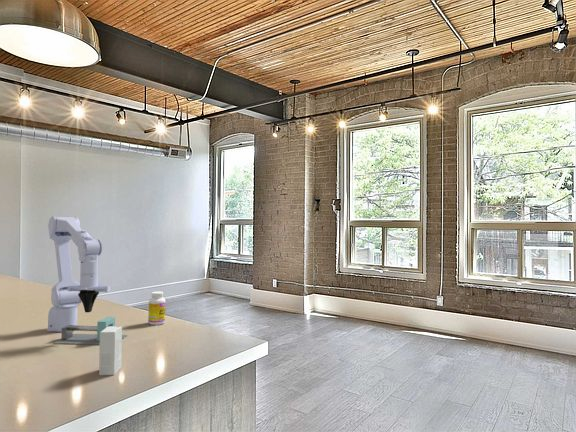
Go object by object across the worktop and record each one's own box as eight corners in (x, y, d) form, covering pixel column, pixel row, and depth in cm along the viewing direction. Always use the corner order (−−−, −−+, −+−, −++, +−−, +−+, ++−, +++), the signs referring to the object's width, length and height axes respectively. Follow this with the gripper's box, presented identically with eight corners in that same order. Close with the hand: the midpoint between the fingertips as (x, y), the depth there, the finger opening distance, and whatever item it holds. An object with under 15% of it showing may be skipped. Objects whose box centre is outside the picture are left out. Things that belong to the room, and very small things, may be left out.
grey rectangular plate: (53, 343, 134) (53, 342, 134) (72, 334, 145) (72, 333, 145) (112, 345, 133) (112, 344, 133) (127, 335, 144) (127, 335, 144)
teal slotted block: (96, 341, 135) (97, 321, 136) (106, 335, 142) (107, 316, 142) (105, 341, 135) (105, 321, 135) (114, 335, 142) (115, 316, 142)
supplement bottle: (159, 325, 159) (160, 294, 159) (145, 324, 160) (145, 293, 160) (168, 321, 165) (168, 291, 165) (153, 320, 166) (154, 290, 167)
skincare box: (106, 367, 113) (107, 326, 113) (121, 367, 114) (122, 326, 114) (98, 375, 107) (99, 332, 107) (114, 375, 108) (115, 331, 108)
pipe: (61, 340, 137) (61, 326, 137) (68, 337, 141) (68, 323, 141) (116, 342, 137) (116, 327, 137) (121, 338, 141) (121, 324, 141)
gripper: (62, 274, 136) (61, 313, 135) (103, 275, 135) (102, 314, 135) (74, 272, 143) (73, 309, 142) (113, 272, 142) (112, 310, 142)
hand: (88, 311), depth 139 cm, fingers closed
